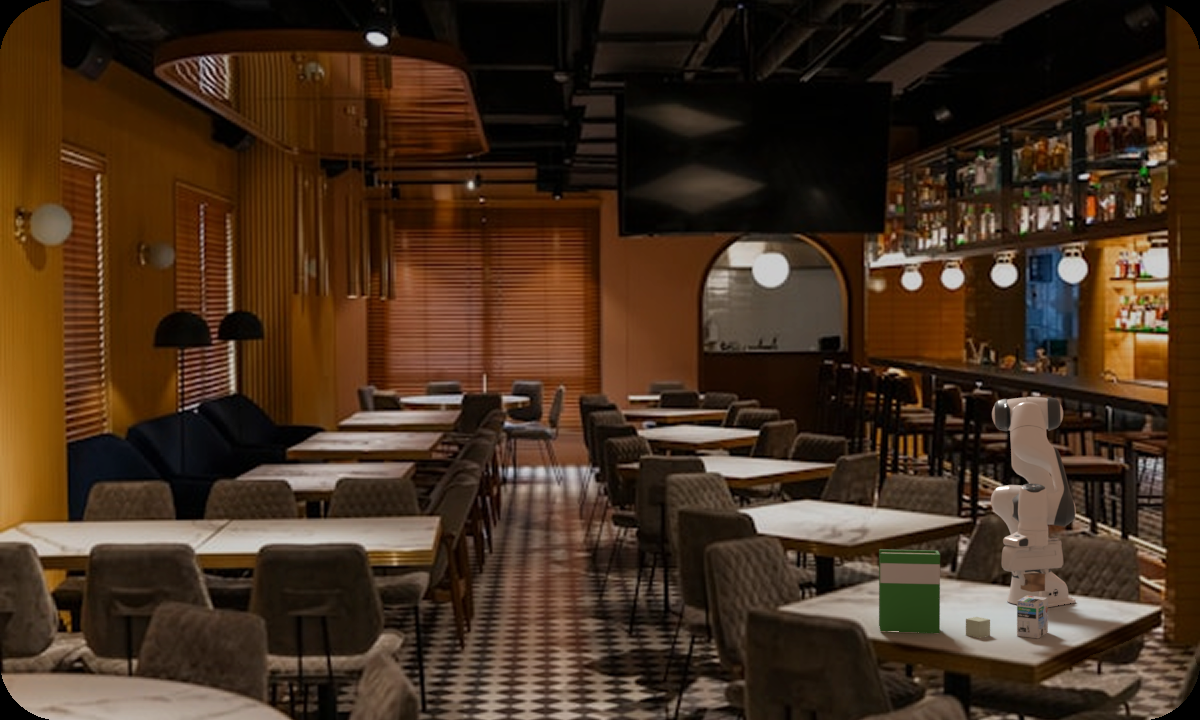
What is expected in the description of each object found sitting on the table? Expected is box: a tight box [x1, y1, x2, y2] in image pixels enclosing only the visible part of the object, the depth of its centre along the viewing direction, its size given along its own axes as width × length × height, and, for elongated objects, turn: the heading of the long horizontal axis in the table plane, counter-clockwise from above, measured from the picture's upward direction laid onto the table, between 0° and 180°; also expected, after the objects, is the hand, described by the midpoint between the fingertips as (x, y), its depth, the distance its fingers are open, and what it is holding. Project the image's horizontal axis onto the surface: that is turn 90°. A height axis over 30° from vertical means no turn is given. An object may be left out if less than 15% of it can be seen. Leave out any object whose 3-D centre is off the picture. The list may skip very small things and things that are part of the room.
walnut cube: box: [1021, 572, 1045, 592], centre depth 441 cm, size 5×5×5 cm
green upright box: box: [878, 548, 941, 634], centre depth 447 cm, size 18×7×24 cm, turn 82°
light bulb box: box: [1016, 595, 1049, 639], centre depth 441 cm, size 11×7×11 cm, turn 148°
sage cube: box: [965, 616, 991, 639], centre depth 440 cm, size 5×5×5 cm
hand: (1032, 584), depth 441 cm, fingers closed on walnut cube, 5 cm apart
